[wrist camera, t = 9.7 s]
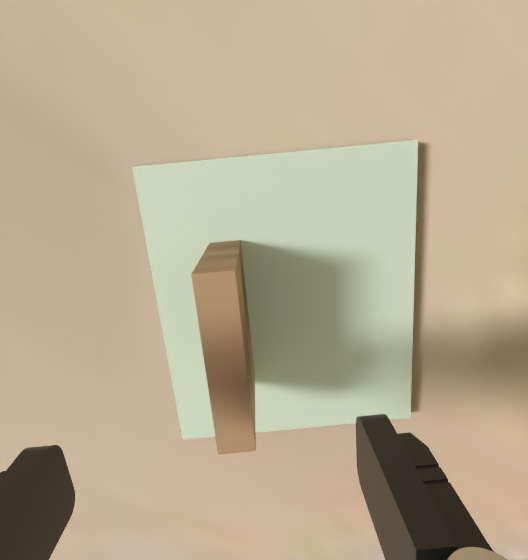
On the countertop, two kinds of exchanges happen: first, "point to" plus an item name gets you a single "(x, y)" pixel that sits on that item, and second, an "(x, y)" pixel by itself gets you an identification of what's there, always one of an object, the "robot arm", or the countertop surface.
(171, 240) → the mat
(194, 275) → the brown wooden block
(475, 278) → the countertop surface
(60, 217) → the countertop surface
